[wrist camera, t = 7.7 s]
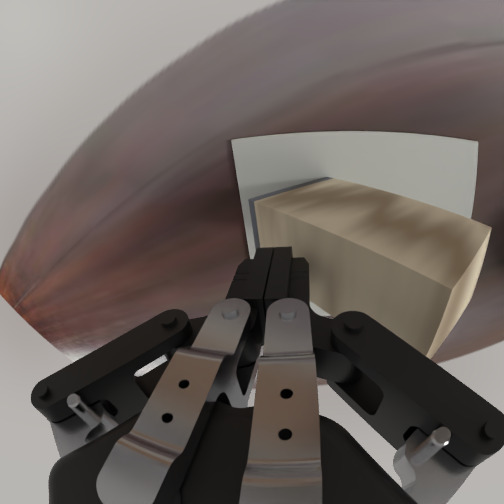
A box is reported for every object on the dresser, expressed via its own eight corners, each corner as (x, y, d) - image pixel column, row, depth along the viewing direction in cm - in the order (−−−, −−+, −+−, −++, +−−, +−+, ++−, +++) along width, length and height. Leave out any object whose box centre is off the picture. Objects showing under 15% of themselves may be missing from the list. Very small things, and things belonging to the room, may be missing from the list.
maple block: (326, 176, 17) (491, 227, 8) (328, 231, 19) (470, 299, 10) (248, 199, 14) (452, 289, 6) (257, 263, 16) (416, 375, 8)
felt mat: (475, 141, 13) (478, 141, 13) (446, 305, 20) (447, 307, 20) (232, 139, 17) (231, 140, 17) (260, 313, 24) (259, 315, 24)
